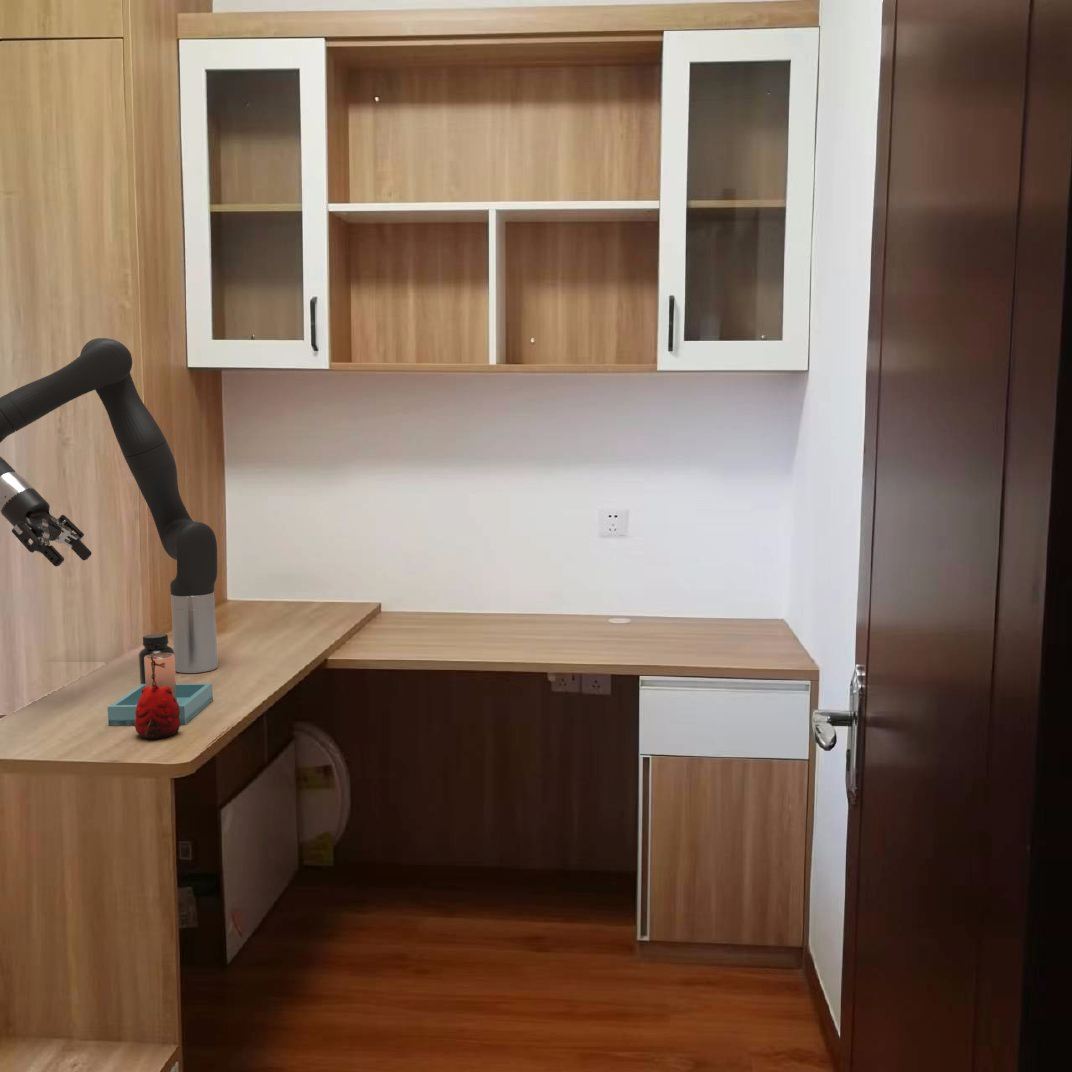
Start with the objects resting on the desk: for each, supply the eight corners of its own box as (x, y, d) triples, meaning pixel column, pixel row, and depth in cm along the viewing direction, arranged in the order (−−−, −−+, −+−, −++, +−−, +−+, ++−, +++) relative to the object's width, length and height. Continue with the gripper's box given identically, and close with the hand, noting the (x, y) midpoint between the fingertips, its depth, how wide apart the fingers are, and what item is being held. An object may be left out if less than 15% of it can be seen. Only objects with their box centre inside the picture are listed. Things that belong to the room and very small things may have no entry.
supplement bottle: (181, 688, 210) (178, 631, 208) (170, 697, 203) (167, 638, 202) (147, 688, 210) (144, 632, 208) (135, 697, 203) (132, 639, 201)
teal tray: (142, 701, 200) (141, 683, 200) (212, 700, 200) (212, 683, 200) (108, 725, 184) (107, 706, 184) (185, 724, 184) (184, 706, 184)
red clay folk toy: (184, 728, 182) (180, 647, 181) (176, 740, 176) (171, 656, 174) (140, 730, 181) (135, 648, 180) (130, 742, 174) (125, 658, 173)
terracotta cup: (153, 703, 195) (151, 652, 194) (181, 703, 195) (178, 652, 194) (142, 711, 190) (139, 659, 188) (170, 711, 189) (167, 659, 188)
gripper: (3, 489, 188) (63, 551, 187) (52, 484, 202) (108, 542, 201) (-20, 517, 189) (39, 579, 189) (30, 510, 203) (85, 568, 203)
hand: (74, 560), depth 195 cm, fingers open, 8 cm apart
